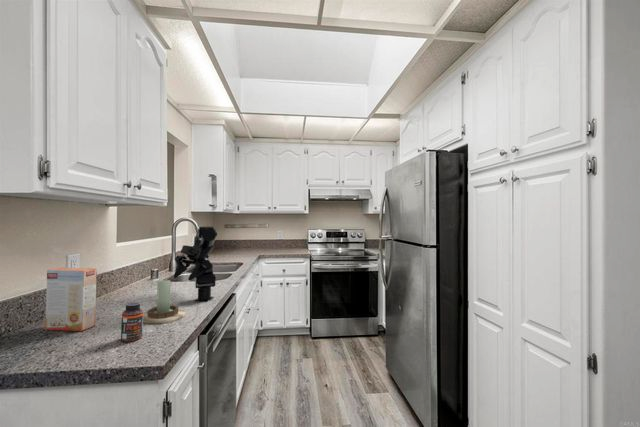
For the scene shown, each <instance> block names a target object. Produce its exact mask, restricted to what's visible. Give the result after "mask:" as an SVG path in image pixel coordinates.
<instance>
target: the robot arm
mask: <svg viewBox="0 0 640 427" xmlns="http://www.w3.org/2000/svg"><path fill="white" fill-rule="evenodd" d="M217 236H218V233H217V230H216V228H215V227H214V226H199V228H197V234H196V235H195V236H194V239H193V245H192V246H191V245H184V244H183V245H182V247H181V249H180V253H181V254H184V255H177V256H175V258H174V261H175V263H176V269H175V271H174V274H173V278H174V279H177V278H178V277H180V276H181V275H182V274H183V273H185V271H187V270H188V268H189V267H191V265H193V266H194V269H193V270H192V272H191V273H190V275H189V277H187V280H188V281H192V280H194V279H195V280H194V283H195V284H194V286H195V289H198V290H197V298H195V299H194V301H197V302H209V301H211V300H212V298H213V299H214V296H212V288H215V287H216V281H217V277H216V276H215V274H214V270H213V267H214V264H213V263H212V262H211V261H210V259H209V257H210V256H209V254H210V252H212V250H213V249H214V247H215V240H216V237H217ZM185 255H186V256H185ZM210 299H211V300H210ZM208 300H209V301H208Z"/></svg>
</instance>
